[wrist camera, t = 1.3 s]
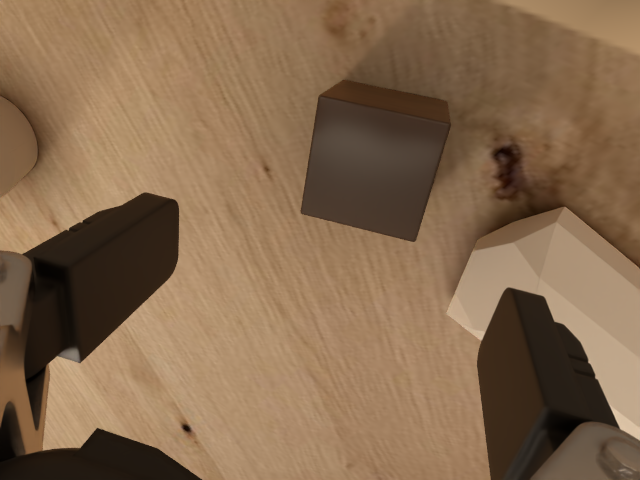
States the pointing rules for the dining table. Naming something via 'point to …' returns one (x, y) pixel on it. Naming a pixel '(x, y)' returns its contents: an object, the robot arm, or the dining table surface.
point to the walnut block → (374, 158)
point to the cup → (15, 146)
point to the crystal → (564, 295)
